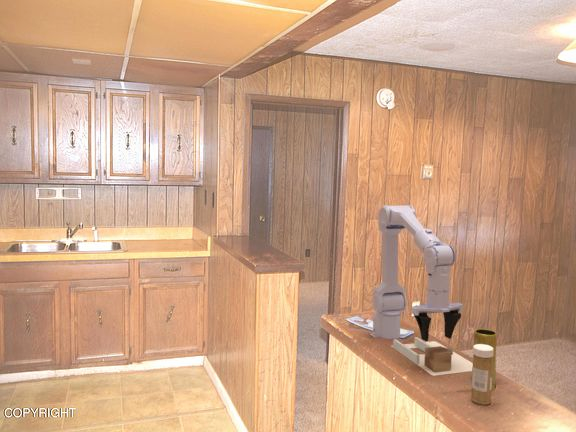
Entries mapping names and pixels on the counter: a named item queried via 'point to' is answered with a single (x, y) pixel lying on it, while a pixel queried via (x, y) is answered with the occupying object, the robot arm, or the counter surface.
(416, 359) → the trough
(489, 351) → the sprinkles bottle
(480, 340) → the vase
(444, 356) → the walnut block
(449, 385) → the counter surface
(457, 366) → the board
